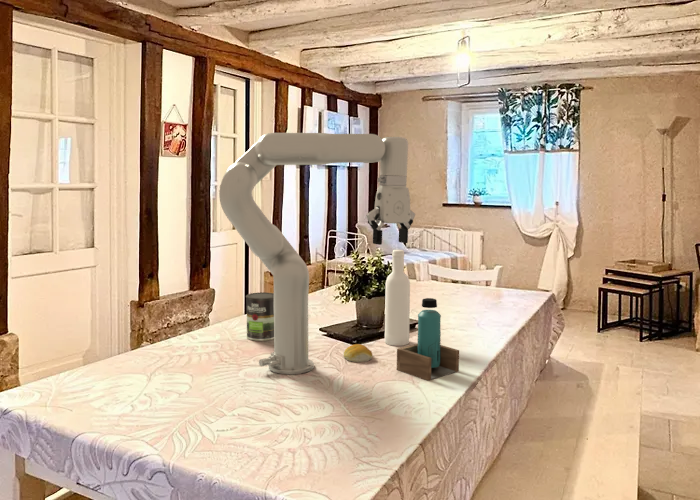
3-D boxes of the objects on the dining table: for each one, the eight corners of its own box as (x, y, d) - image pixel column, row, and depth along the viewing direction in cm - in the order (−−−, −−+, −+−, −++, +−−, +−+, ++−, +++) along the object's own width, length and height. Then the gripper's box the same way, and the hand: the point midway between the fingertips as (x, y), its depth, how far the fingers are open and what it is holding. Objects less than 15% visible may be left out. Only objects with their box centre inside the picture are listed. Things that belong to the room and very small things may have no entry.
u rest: (427, 380, 166) (428, 358, 165) (396, 369, 175) (397, 348, 174) (458, 371, 174) (459, 350, 173) (427, 361, 183) (427, 341, 182)
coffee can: (269, 342, 202) (269, 299, 200) (241, 339, 205) (240, 297, 203) (283, 334, 211) (282, 293, 210) (255, 331, 215) (255, 291, 213)
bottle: (380, 343, 201) (381, 250, 197) (390, 338, 207) (391, 248, 204) (403, 347, 197) (405, 252, 193) (413, 341, 204) (414, 249, 200)
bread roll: (366, 353, 191) (367, 340, 191) (374, 362, 183) (375, 348, 182) (340, 354, 189) (340, 342, 189) (347, 363, 181) (347, 350, 180)
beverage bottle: (439, 374, 170) (441, 301, 168) (415, 372, 172) (416, 300, 169) (441, 366, 177) (442, 297, 174) (417, 365, 178) (418, 295, 175)
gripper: (378, 182, 166) (375, 246, 168) (424, 183, 177) (421, 243, 179) (360, 181, 172) (357, 243, 174) (406, 182, 182) (403, 240, 185)
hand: (390, 243), depth 176 cm, fingers open, 9 cm apart
